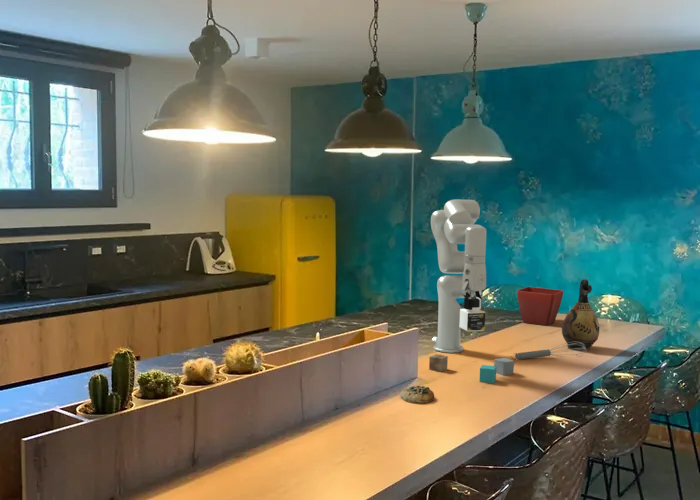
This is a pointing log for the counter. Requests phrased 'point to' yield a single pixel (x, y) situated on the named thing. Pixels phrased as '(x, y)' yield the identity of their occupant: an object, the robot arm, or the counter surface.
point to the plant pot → (539, 304)
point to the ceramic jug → (581, 322)
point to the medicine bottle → (473, 317)
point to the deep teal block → (487, 374)
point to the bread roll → (417, 394)
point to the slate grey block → (504, 366)
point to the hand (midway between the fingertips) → (472, 307)
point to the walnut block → (438, 362)
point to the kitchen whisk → (542, 353)
